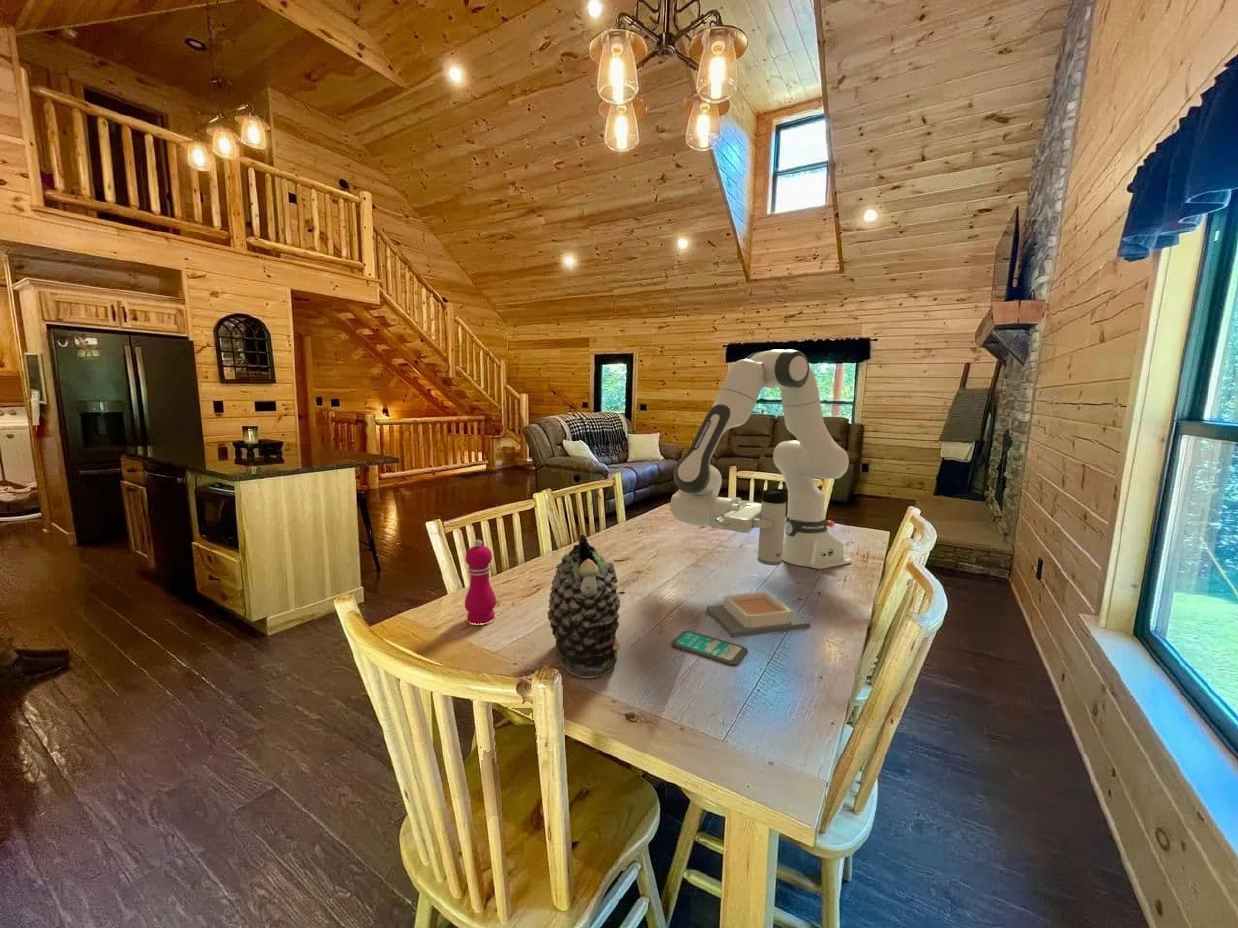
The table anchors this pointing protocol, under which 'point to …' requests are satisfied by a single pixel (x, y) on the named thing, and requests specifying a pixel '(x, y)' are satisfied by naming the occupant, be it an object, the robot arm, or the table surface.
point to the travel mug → (772, 537)
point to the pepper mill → (479, 585)
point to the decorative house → (585, 612)
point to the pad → (756, 606)
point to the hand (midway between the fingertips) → (776, 521)
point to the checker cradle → (755, 616)
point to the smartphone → (710, 648)
